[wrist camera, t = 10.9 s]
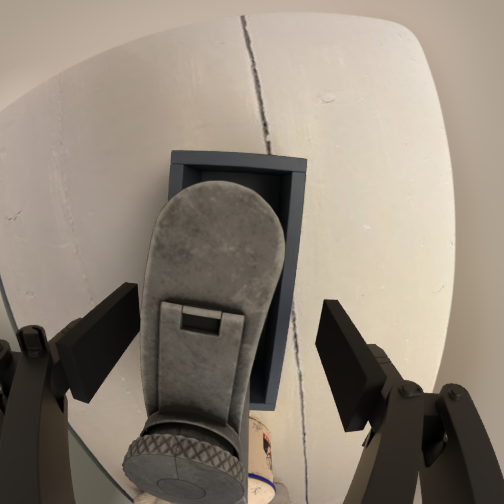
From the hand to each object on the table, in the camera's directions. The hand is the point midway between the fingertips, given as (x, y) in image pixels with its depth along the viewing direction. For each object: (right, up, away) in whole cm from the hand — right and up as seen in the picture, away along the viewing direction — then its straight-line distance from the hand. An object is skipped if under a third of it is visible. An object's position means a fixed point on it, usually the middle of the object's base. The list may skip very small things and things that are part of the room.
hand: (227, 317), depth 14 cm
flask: (0, +1, +8) cm, 9 cm away
